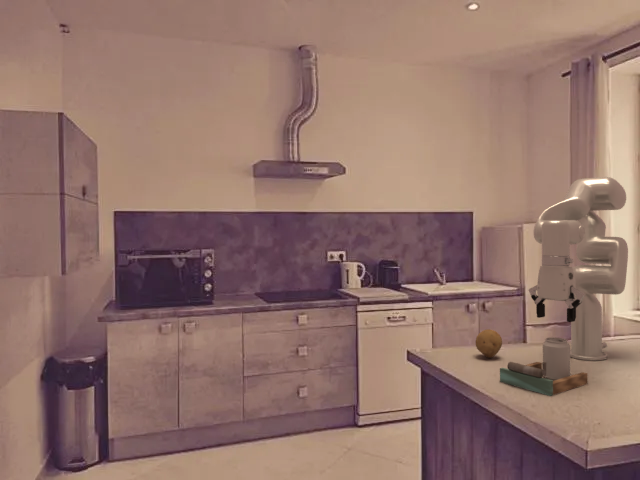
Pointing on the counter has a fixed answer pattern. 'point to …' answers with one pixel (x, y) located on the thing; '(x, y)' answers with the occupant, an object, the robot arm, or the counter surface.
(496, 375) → the counter surface
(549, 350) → the can
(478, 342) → the natural sponge
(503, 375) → the bay
